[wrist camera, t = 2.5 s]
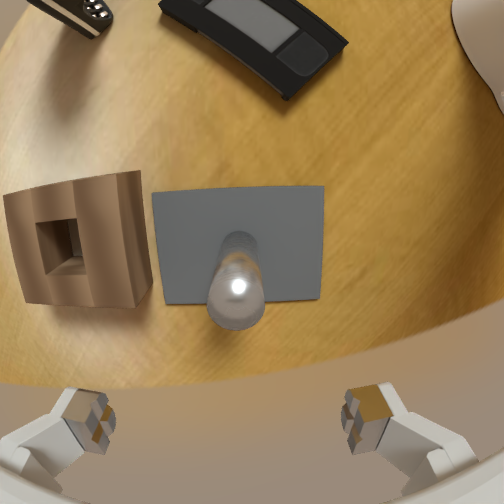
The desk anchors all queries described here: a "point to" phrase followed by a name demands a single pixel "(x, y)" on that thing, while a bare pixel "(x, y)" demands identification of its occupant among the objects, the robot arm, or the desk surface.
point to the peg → (237, 284)
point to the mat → (248, 220)
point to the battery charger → (78, 14)
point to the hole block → (91, 238)
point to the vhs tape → (264, 36)
